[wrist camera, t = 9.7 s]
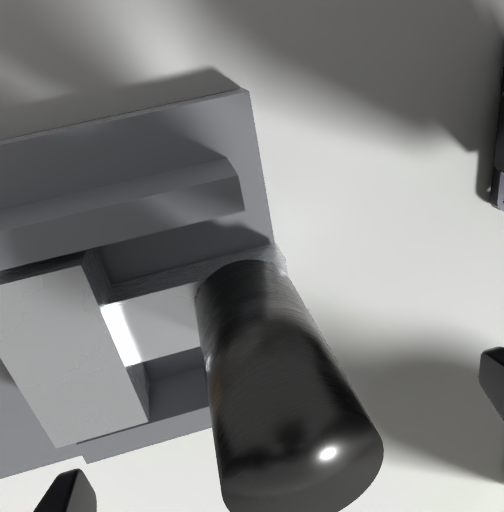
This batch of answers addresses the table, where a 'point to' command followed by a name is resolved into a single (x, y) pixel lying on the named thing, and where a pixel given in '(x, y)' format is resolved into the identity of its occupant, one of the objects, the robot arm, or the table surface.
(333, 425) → the ram
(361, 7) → the table surface
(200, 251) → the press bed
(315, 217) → the table surface
